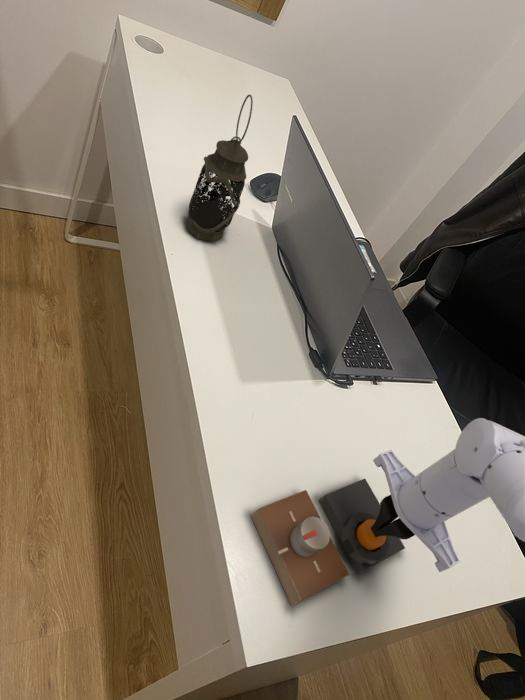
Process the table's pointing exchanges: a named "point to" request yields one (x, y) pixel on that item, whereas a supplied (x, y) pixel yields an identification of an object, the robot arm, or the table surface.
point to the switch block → (357, 523)
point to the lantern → (226, 166)
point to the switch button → (369, 536)
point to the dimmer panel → (291, 568)
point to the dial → (310, 536)
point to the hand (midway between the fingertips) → (378, 530)
